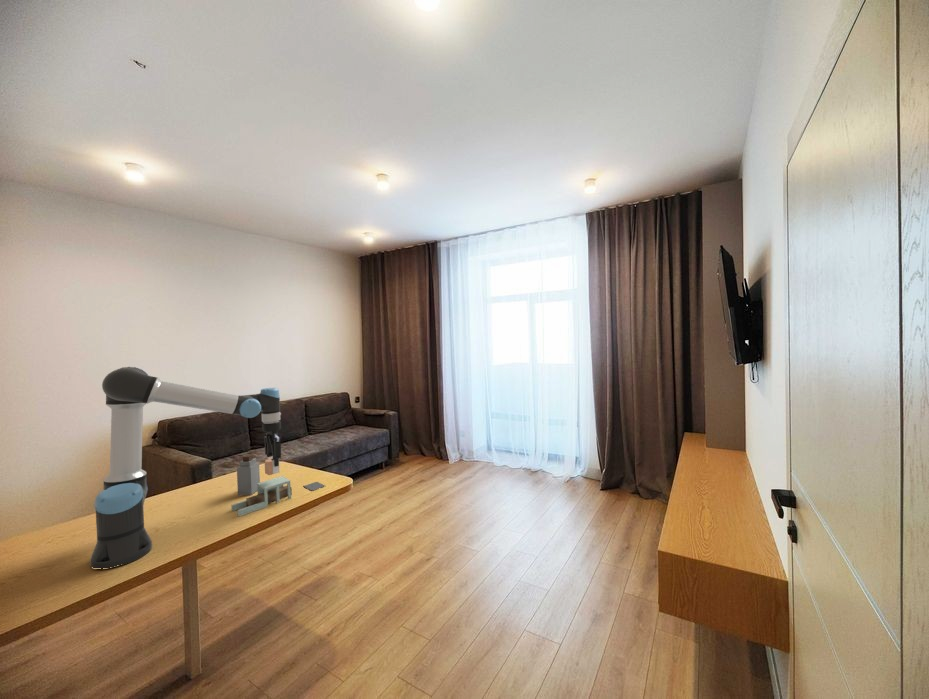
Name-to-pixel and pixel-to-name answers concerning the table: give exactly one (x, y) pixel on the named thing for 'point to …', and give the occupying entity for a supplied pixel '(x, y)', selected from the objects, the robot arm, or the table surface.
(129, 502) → the robot arm
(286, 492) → the rod
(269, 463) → the block
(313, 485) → the trap mat
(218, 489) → the table surface
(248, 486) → the perfume bottle
